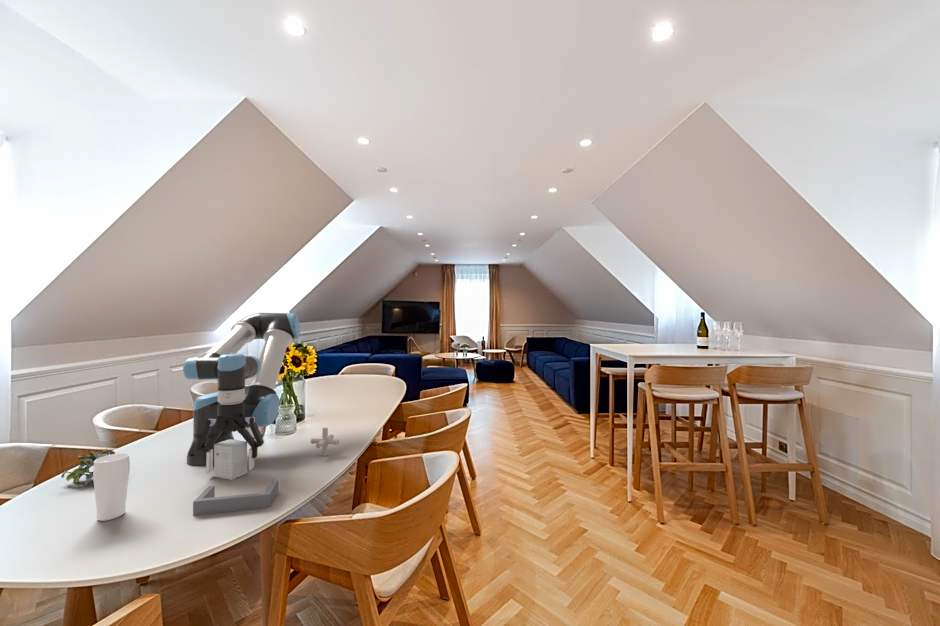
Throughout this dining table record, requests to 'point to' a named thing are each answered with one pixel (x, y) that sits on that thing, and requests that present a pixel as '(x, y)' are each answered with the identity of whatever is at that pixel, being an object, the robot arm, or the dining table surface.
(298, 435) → the dining table surface
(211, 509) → the square bracket
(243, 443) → the small box
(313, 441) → the pipe connector
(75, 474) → the green leafy plant
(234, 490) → the dining table surface
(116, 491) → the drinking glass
